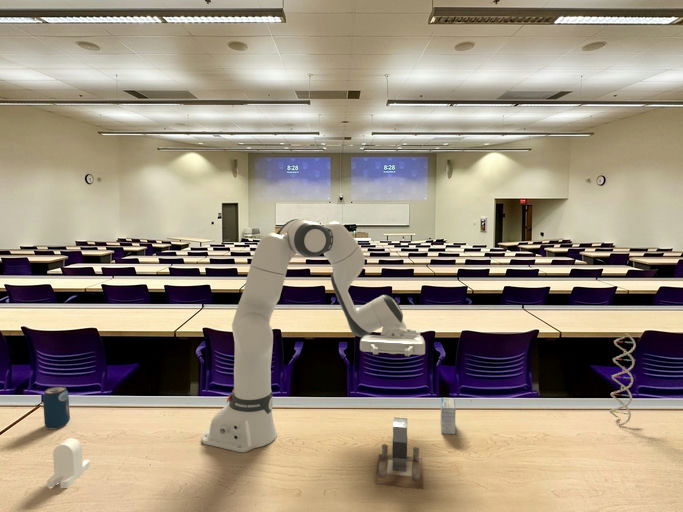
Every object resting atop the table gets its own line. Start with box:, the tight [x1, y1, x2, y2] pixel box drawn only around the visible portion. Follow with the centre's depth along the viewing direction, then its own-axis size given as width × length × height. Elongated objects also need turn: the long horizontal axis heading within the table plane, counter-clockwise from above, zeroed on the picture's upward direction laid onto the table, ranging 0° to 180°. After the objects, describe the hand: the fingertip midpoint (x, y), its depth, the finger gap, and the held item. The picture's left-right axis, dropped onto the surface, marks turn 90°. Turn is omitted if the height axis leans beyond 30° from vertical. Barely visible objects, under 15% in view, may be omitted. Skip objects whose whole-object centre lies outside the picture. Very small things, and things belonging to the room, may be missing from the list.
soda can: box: [42, 385, 71, 429], centre depth 140 cm, size 7×7×12 cm
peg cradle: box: [374, 443, 424, 489], centre depth 115 cm, size 12×12×5 cm
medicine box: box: [440, 397, 457, 435], centre depth 139 cm, size 8×4×9 cm, turn 168°
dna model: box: [609, 332, 637, 426], centre depth 142 cm, size 7×6×30 cm
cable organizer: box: [46, 437, 91, 489], centre depth 113 cm, size 5×10×10 cm, turn 178°
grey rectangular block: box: [391, 417, 408, 472], centre depth 115 cm, size 4×5×13 cm
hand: (391, 352), depth 128 cm, fingers open, 8 cm apart
